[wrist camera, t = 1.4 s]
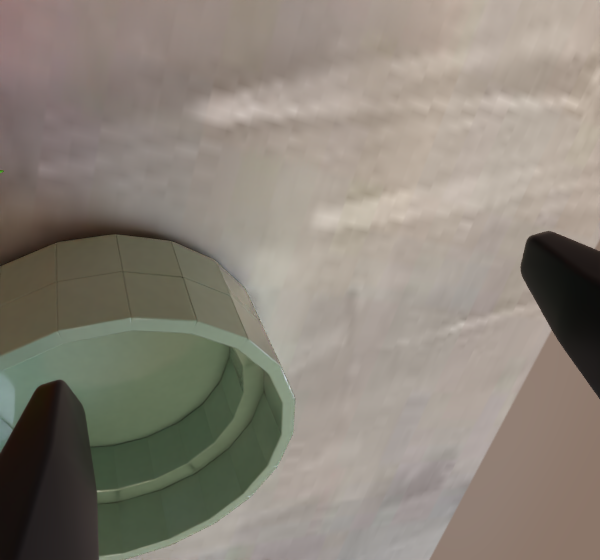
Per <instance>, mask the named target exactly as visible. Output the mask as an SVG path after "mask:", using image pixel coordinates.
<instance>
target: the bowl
mask: <svg viewBox="0 0 600 560" xmlns="http://www.w3.org/2000/svg"><path fill="white" fill-rule="evenodd" d="M55 380H63V381H65V382H66V383H67V385H68V386H69V387H70V389H71V390H72V391H73V393H74V394H75V395H76V397H77V398H78V399H79V401H80V402H81V404H82V406H83V408H84V411H85V415H86V421H87V428H88V435H89V441H90V448H91V455H92V461H93V468H94V475H95V482H96V489H97V503H98V540H99V560H126V559H129V558H132V557H135V556H139V555H142V554H145V553H148V552H151V551H154V550H158V549H161V548H164V547H167V546H170V545H172V544H175V543H177V542H179V541H181V540H183V539H185V538H187V537H189V536H191V535H193V534H195V533H197V532H199V531H201V530H203V529H205V528H207V527H209V526H211V525H213V524H214V523H216V522H218V521H219V520H220V519H222V518H223V517H224V516H226V515H227V514H228V513H230V512H231V511H233V510H234V509H235V508H237V507H238V506H239V505H241V504H242V503H243V502H245V501H246V500H247V499H249V498H250V497H251V496H252V495H253V494H254V493H255V492H256V491H257V489H258V488H259V487H260V486H261V485H262V484H263V483H264V481H265V480H266V479H267V478H268V477H269V476H270V475H271V473H272V472H273V471H274V470H275V469H276V468H277V466H278V465H279V462H280V460H281V458H282V456H283V454H284V452H285V450H286V447H287V445H288V443H289V441H290V439H291V437H292V435H293V431H294V413H295V396H294V394H293V392H292V389H291V387H290V385H289V382H288V380H287V378H286V376H285V373H284V371H283V369H282V367H281V364H280V362H279V360H278V358H277V356H276V354H275V352H274V349H273V347H272V345H271V343H270V341H269V339H268V337H267V335H266V332H265V330H264V328H263V326H262V324H261V322H260V320H259V317H258V315H257V313H256V311H255V309H254V307H253V305H252V302H251V300H250V298H249V296H248V294H247V292H246V290H245V289H244V287H243V286H242V285H241V284H240V283H239V282H238V281H237V280H236V279H234V278H233V277H232V276H231V275H230V274H229V273H228V272H227V271H226V270H225V269H224V268H223V267H222V266H221V265H220V264H218V263H217V262H216V261H215V260H214V259H211V258H209V257H207V256H205V255H202V254H200V253H198V252H195V251H193V250H191V249H189V248H186V247H184V246H182V245H179V244H177V243H175V242H172V241H167V240H159V239H151V238H143V237H135V236H127V235H119V234H112V235H105V236H97V237H90V238H83V239H76V240H68V241H61V242H56V243H54V244H52V245H49V246H47V247H45V248H42V249H40V250H37V251H35V252H33V253H30V254H28V255H26V256H23V257H21V258H19V259H16V260H14V261H12V262H9V263H7V264H4V265H2V266H1V267H0V452H1V451H2V449H3V447H4V445H5V443H6V442H7V440H8V438H9V436H10V434H11V433H12V431H13V429H14V427H15V425H16V424H17V422H18V420H19V418H20V416H21V415H22V413H23V411H24V409H25V407H26V406H27V404H28V402H29V400H30V398H31V397H32V395H33V393H34V391H35V390H36V388H37V387H38V386H40V385H42V384H45V383H49V382H52V381H55Z"/></svg>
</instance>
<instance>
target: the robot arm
mask: <svg viewBox="0 0 600 560" xmlns="http://www.w3.org/2000/svg"><path fill="white" fill-rule="evenodd" d="M521 274H522V277H523V279H524V281H525V282H526V284H527V286H528V288H529V290H530V291H531V293H532V295H533V297H534V299H535V300H536V302H537V304H538V306H539V308H540V309H541V311H542V313H543V315H544V317H545V318H546V320H547V322H548V324H549V326H550V327H551V329H552V331H553V333H554V334H555V336H556V337H557V339H558V341H559V342H560V344H561V345H562V346H563V348H564V350H565V351H566V352H567V354H568V355H569V357H570V358H571V359H572V361H573V362H574V364H575V365H576V366H577V368H578V369H579V371H580V372H581V373H582V375H583V376H584V378H585V379H586V380H587V382H588V383H589V385H590V386H591V387H592V389H593V390H594V392H595V393H596V394H597V396H598V397H599V399H600V251H597V250H595V249H593V248H591V247H588V246H586V245H583V244H581V243H578V242H576V241H574V240H571V239H569V238H566V237H564V236H562V235H559V234H557V233H554V232H551V231H546V232H542V233H539V234H535V235H532V236H530V237H529V238H528V239H527V241H526V245H525V249H524V254H523V258H522V262H521ZM0 560H99V540H98V503H97V489H96V482H95V475H94V468H93V461H92V455H91V448H90V441H89V435H88V428H87V421H86V415H85V411H84V408H83V406H82V404H81V402H80V401H79V399H78V398H77V397H76V395H75V394H74V393H73V391H72V390H71V389H70V387H69V386H68V385H67V383H66V382H65V381H63V380H55V381H52V382H49V383H45V384H42V385H40V386H38V387H37V388H36V390H35V391H34V393H33V395H32V397H31V398H30V400H29V402H28V404H27V406H26V407H25V409H24V411H23V413H22V415H21V416H20V418H19V420H18V422H17V424H16V425H15V427H14V429H13V431H12V433H11V434H10V436H9V438H8V440H7V442H6V443H5V445H4V447H3V449H2V451H1V452H0Z"/></svg>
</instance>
